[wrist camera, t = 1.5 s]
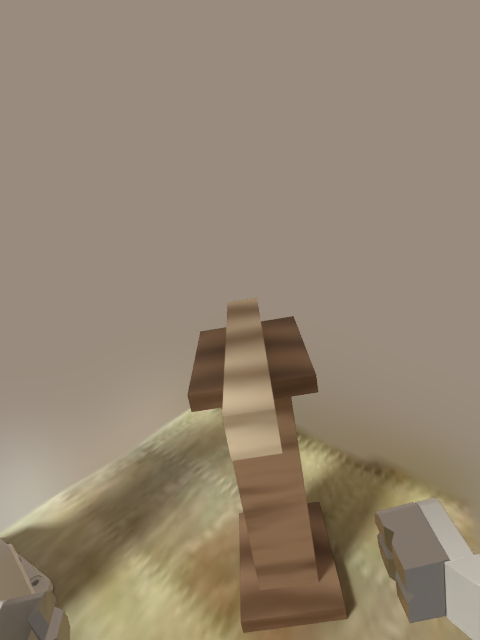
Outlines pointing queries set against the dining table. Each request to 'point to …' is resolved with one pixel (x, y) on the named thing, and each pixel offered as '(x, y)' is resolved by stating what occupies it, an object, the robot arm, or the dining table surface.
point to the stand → (275, 494)
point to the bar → (248, 386)
